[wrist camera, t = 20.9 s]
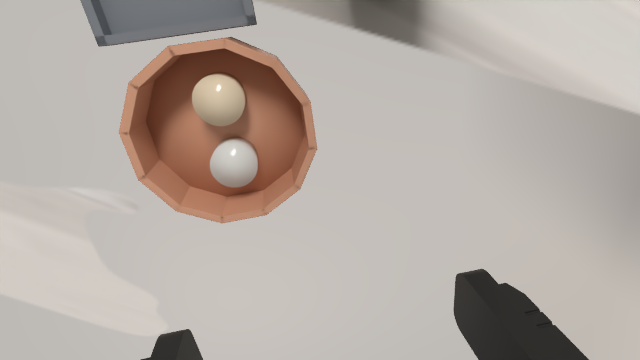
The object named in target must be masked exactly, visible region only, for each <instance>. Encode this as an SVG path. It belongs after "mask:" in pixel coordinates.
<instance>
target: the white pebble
mask: <svg viewBox="0 0 640 360" xmlns="http://www.w3.org/2000/svg"><path fill="white" fill-rule="evenodd" d="M257 169H258V153H257V150H256V148H255V146H254V145H253V144H252V143H251V142H250V141H248V140H246V139H244V138H241V137H228V138H226V139H224V140H222V141H221V142H220V143H219V144H218V145H217V146H216V148H215V150H214V152H213V154H212V157H211V159H210V171H211V173H212V175H213V177H214V178H215V179H216V180H217V181H218V182H219V183H221V184H222V185H224V186H227V187H233V188H237V187H242V186H245V185H247V184H248V183H250V182H251V181H252V180H253V179H254V177H255V176H256V173H257Z"/></svg>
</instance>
